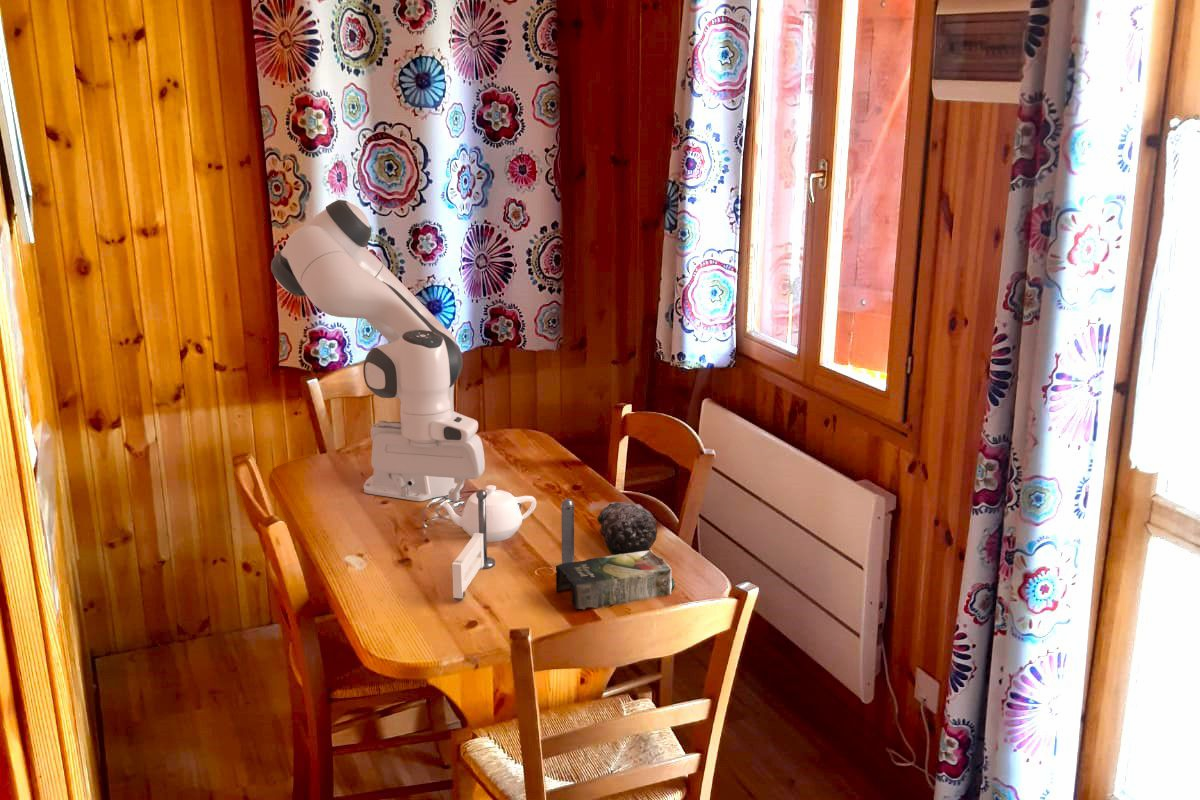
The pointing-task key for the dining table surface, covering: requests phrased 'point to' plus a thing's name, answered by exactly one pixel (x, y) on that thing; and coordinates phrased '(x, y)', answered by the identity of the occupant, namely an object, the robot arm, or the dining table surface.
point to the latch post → (567, 531)
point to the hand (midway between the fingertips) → (429, 497)
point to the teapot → (493, 514)
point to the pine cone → (627, 528)
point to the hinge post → (483, 526)
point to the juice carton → (615, 579)
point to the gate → (467, 565)
